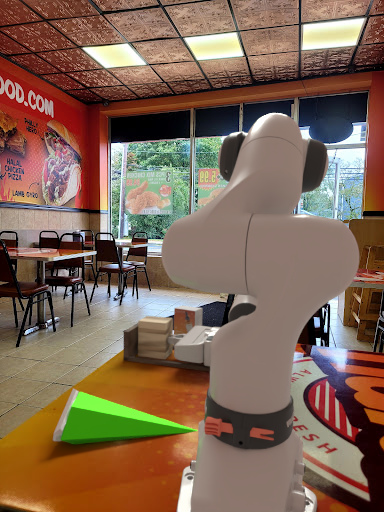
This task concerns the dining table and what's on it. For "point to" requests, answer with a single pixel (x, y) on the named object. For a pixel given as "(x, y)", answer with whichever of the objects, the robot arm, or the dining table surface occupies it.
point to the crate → (154, 337)
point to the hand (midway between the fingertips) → (169, 338)
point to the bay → (132, 350)
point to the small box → (186, 319)
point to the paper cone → (108, 422)
